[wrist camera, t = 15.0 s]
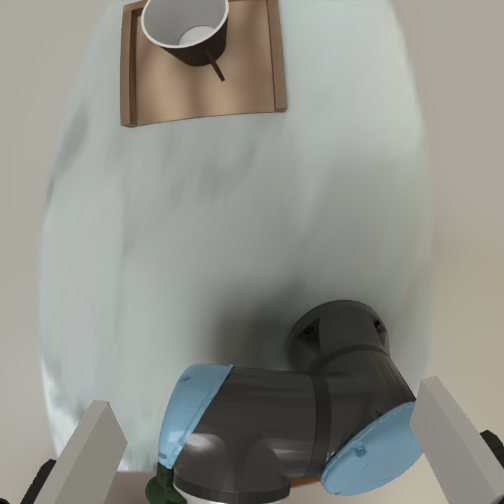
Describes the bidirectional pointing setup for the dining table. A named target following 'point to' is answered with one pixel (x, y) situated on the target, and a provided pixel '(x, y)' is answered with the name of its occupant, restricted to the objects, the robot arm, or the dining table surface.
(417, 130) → the dining table surface
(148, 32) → the coffee mug
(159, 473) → the toy figurine
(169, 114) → the tray
